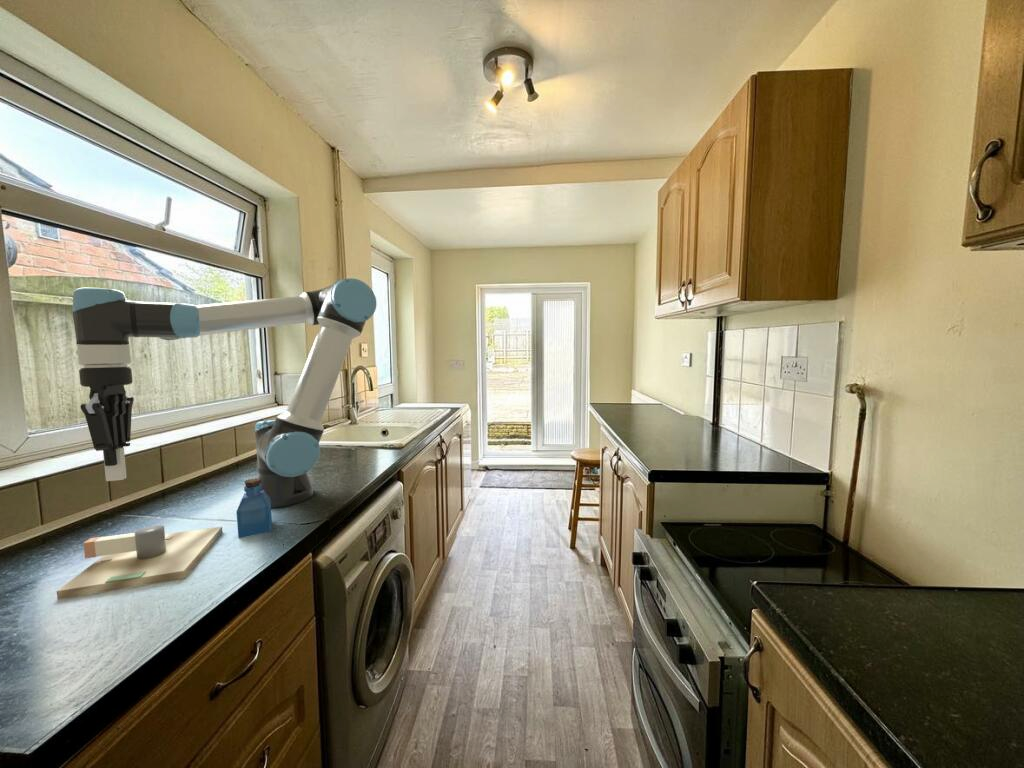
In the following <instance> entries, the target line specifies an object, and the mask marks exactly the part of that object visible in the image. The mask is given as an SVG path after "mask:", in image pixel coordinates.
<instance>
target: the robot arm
mask: <svg viewBox="0 0 1024 768" xmlns="http://www.w3.org/2000/svg"><path fill="white" fill-rule="evenodd" d="M377 305H378V304H377V297H376V295H375V292H374V291H373V289H372V287H370V286H369V285H368V284H367V283H366V282H365V281H362V280H360V279H358V278H353V277H352V278H351V277H350V278H342V279H339V280H337V281H336V282H334V283H333V284H331V285H329V286H325V287H324V288H320V289H318V290H312V291H303V292H302V293H301V294H300V295H299V296H287V297H275V298H273V297H272V298H264V299H263V298H262V299H254V300H253V299H251V300H243V301H228V302H220V303H219V302H218V303H209V304H208V303H207V304H197V305H195V304H190V303H183V302H182V303H181V302H154V301H135V300H130V299H128V300H127V298H126V295H125V292H123V291H121V290H117V289H112V288H103V287H102V288H100V287H79V288H76V289H75V290H73V291H72V310H71V312H72V317H73V325H74V333H75V342H76V351H75V354H76V355H77V361H78V365H81V366H83V367H80V369H79V370H78V373H79V374H78V377H79V384H80V386H81V387H85V388H87V387H88V388H90V389H89V395H88V398H89V401H88V403H81V404H80V409H81V411H82V413H83V414H84V417H85V420H86V424H87V427H88V431H89V435H90V439H91V442H92V446H93V448H94V450H95V451H96V452H99V451H102V453H103V463H104V464H103V465H104V473H105V475H104V476H105V482H114V481H124V480H125V479H127V478H128V477H127V467H126V466H127V465H126V456H125V455H126V454H125V447H130V446H131V442H130V441H131V434H132V433H131V432H132V431H131V430H132V415H133V414H132V411H133V409H132V408H133V405H134V401H135V399H134V397H133V396H127V391H126V389H125V386H129V385H131V384H133V371H132V368H131V367H130V366H128V365H131V363H132V358H131V357H132V356H131V347H130V341H129V338H159V339H161V340H165V341H175V340H180V339H187V338H192V339H193V338H198V337H199V336H207V335H209V336H210V335H215V334H222V333H223V334H224V333H232V332H239V331H247V330H249V331H250V330H257V329H258V330H259V329H264V328H272V327H280V326H281V327H282V326H288V325H289V326H290V325H296V324H297V325H298V324H307V325H309V326H318V325H319V328H318V329H319V330H318V332H317V334H316V337H315V338H314V341H313V345H312V347H311V350H310V352H309V353H308V357H307V359H306V362H305V365H304V367H303V368H302V372H301V374H300V377H299V378H298V381H297V384H296V386H295V389H294V391H293V392H292V393H293V394H292V397H291V399H290V401H289V404H288V406H287V409H286V411H284V412H282V413H281V414H279V415H276V418H275V419H269V420H268V419H267V420H262V421H261V420H260V421H258V422H256V423H255V425H254V428H255V429H254V435H255V444H256V446H255V447H256V460H257V461H256V462H257V478H258V479H260V484H261V486H262V488H261V489H260V491H263V490H264V491H265V492H266V493H267V495H268V496H269V497H270V501H271V509H272V508H281V507H285V506H286V507H287V506H290V505H291V506H292V505H295V504H297V503H301V502H303V501H306V500H308V499H309V498H311V497H312V496H313V495H314V486H313V483H312V481H311V478H310V477H309V475H308V472H309V471H311V470H312V469H313V468H314V467H315V466H316V465H317V462H318V461H319V459H320V456H321V455H320V454H321V446H320V441H321V439H322V436H323V434H324V431H325V428H324V425H323V424H322V419H323V417H324V413H325V412H326V408H327V406H328V404H329V401H330V399H331V396H332V394H333V391H334V388H335V386H336V383H337V380H338V378H339V375H340V372H341V371H342V368H343V366H344V363H345V360H346V357H347V355H348V352H349V350H350V347H351V345H352V342H353V340H354V339H355V338H358V337H360V336H361V335H362V332H363V330H364V327H365V325H366V322H367V321H368V320H370V319H371V318H372V317H373V315H374V313H375V312H376V309H377Z"/></svg>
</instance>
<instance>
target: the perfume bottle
mask: <svg viewBox="0 0 1024 768" xmlns="http://www.w3.org/2000/svg"><path fill="white" fill-rule="evenodd" d="M244 484H245V485H244V487H243V490H244V493H243V496H242V498H241V499H240V502H239V505H238V507H237V509H236V525H237V535H238V536H237V537H238V538H237V539H241V538H247V537H252V536H257V535H262V534H268V533H271V530H272V524H273V517H272V508H271V501H270V497H269V496H268V495H267V493H266V492H265V491H264V490H263V491H260V489H261V488H262V486H261V484H260V479H258V477H257V478H249V479H246V480H244Z"/></svg>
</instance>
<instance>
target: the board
mask: <svg viewBox="0 0 1024 768" xmlns="http://www.w3.org/2000/svg"><path fill="white" fill-rule="evenodd" d="M222 534H223V526H217V527H210V528H201V529H195V530H187V531H177V532H171V533H165V542H166V552H165V553H163V554H161V555H159V556H157V557H154V558H150V559H144V560H140V559H137V552H136V551H132V552H125V553H118V554H111V555H104V556H100V558H98V559H97V560H96V561H95V562H92V563H91V564H90V565H89V566H87V568H85V569H84V570H83V571H81V572H80V573H79V574H77V575H76V576H75V577H73V578H72V579H71V580H69V581H68V582H67V583H65V584H64V585H62V586H61V587H60V588H59V589H57V590H56V597H57V598H56V599H57V600H62V599H69V598H74V597H75V598H76V597H79V596H80V597H81V596H88V595H94V594H98V593H99V594H100V593H106V592H111V591H118V590H123V589H130V588H135V587H140V586H148V585H154V584H159V583H165V582H171V581H178V580H183V579H186V577H187V576H188V575H189V573H190V572H191V571H193V569H194V568H195V566H196V565H197V564H198V563H199V562H200V561H201V560H202V558H203V557H204V556H205V555H206V554H207V552H208V551H209V550H210V549H211V547H212V546H214V544H215V542H216V541H217V540H218V539H219V537H221V535H222Z"/></svg>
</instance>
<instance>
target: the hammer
mask: <svg viewBox="0 0 1024 768" xmlns="http://www.w3.org/2000/svg"><path fill="white" fill-rule="evenodd" d="M165 534H166V533H165V526H164V525H161V524H160V525H150V526H146V527H143V528H140V529H138V530H136V531H135V532H130V533H122V534H121V533H120V534H116V535H115V534H114V535H107V536H97V537H90V538H89V539H87V540H86V541H84V542H83V543H82V544H83V551H84V559H90V558H96V557H102V556H104V555H111V554H118V553H125V552H132V551H136V552H137V559H140V560H144V559H150V558H154V557H157V556H159V555H161V554H163V553H165V552H166V542H165Z"/></svg>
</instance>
